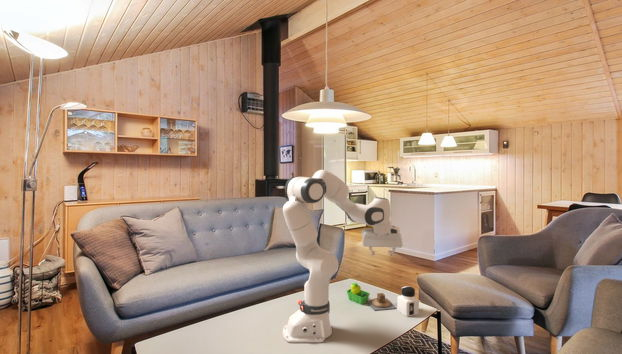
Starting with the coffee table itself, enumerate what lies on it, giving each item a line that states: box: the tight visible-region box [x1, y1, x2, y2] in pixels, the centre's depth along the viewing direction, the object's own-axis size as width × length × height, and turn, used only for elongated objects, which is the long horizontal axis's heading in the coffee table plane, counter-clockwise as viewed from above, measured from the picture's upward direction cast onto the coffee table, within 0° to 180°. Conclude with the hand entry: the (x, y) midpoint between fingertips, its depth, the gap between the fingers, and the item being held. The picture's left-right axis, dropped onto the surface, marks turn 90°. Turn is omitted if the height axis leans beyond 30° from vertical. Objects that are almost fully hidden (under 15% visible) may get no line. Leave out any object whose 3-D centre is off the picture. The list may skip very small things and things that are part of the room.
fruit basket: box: [346, 282, 370, 306], centre depth 182 cm, size 11×9×11 cm
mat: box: [366, 297, 397, 312], centre depth 177 cm, size 12×12×1 cm
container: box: [396, 285, 420, 318], centre depth 168 cm, size 8×8×13 cm
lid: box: [371, 292, 392, 308], centre depth 177 cm, size 10×10×5 cm
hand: (382, 255), depth 169 cm, fingers open, 8 cm apart
